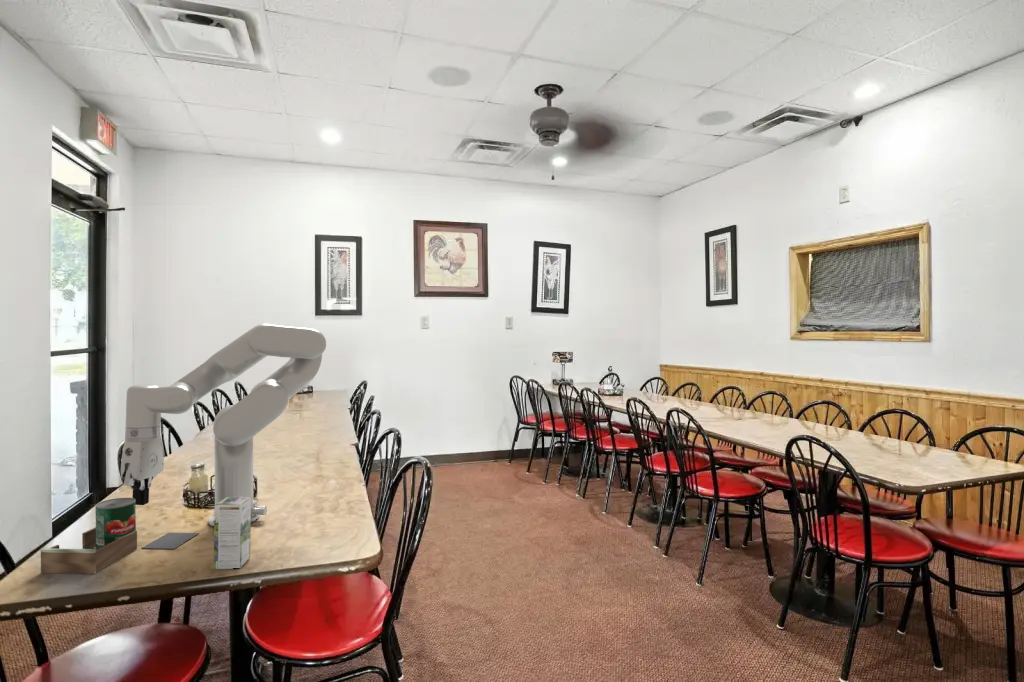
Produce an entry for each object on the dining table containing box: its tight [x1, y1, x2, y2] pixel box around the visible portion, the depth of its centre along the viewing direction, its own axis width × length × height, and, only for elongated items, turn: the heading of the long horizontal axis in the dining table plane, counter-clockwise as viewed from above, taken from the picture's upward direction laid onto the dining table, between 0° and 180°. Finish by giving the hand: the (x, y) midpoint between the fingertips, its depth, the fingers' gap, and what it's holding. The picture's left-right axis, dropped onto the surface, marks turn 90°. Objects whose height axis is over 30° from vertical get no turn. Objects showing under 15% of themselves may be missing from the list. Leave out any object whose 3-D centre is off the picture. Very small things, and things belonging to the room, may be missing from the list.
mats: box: [141, 532, 200, 550], centre depth 132 cm, size 24×18×1 cm
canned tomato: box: [94, 497, 137, 550], centre depth 132 cm, size 8×8×11 cm
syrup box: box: [213, 496, 252, 570], centre depth 123 cm, size 6×6×14 cm
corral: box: [40, 526, 138, 574], centre depth 130 cm, size 12×24×5 cm, turn 178°
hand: (140, 503), depth 141 cm, fingers closed
